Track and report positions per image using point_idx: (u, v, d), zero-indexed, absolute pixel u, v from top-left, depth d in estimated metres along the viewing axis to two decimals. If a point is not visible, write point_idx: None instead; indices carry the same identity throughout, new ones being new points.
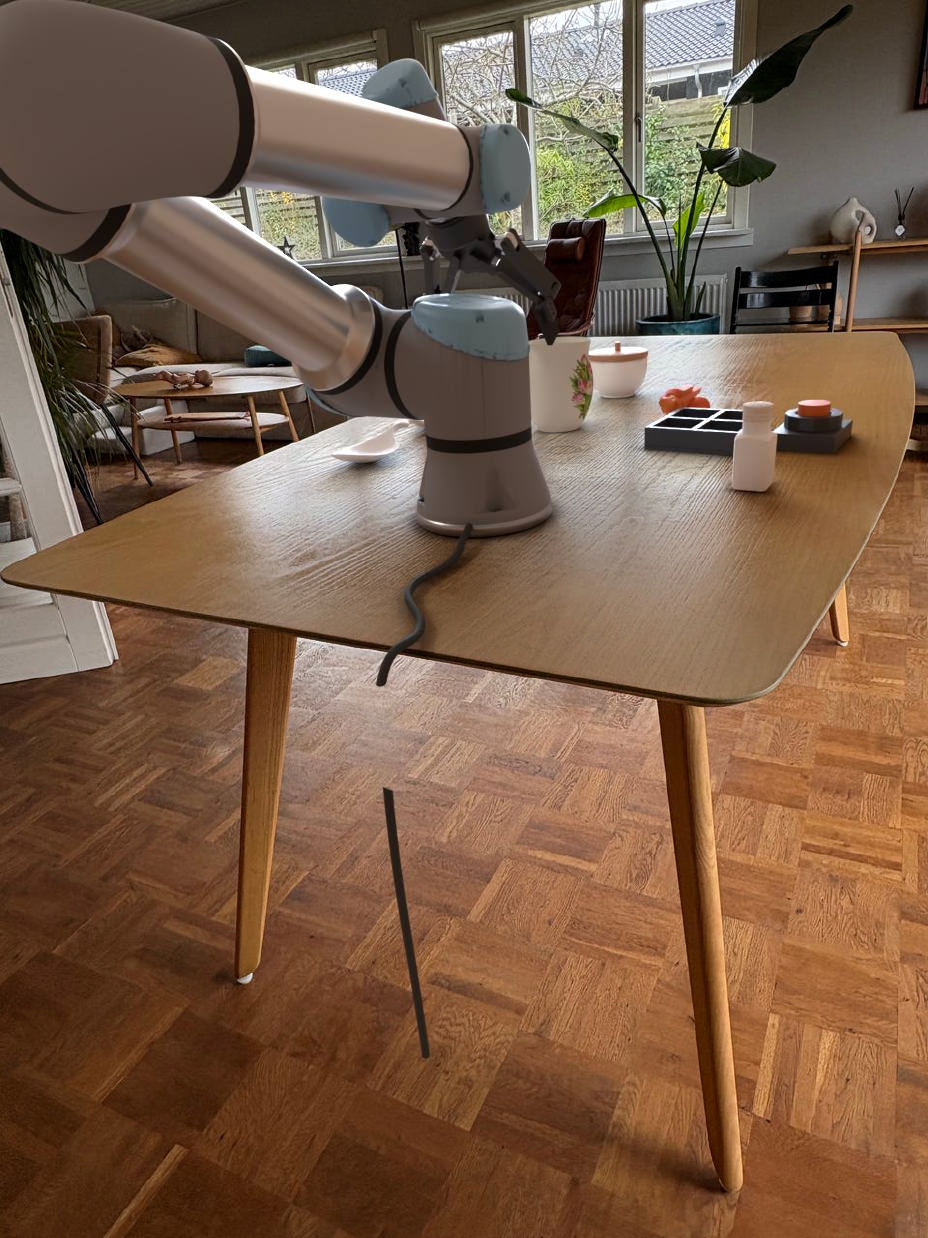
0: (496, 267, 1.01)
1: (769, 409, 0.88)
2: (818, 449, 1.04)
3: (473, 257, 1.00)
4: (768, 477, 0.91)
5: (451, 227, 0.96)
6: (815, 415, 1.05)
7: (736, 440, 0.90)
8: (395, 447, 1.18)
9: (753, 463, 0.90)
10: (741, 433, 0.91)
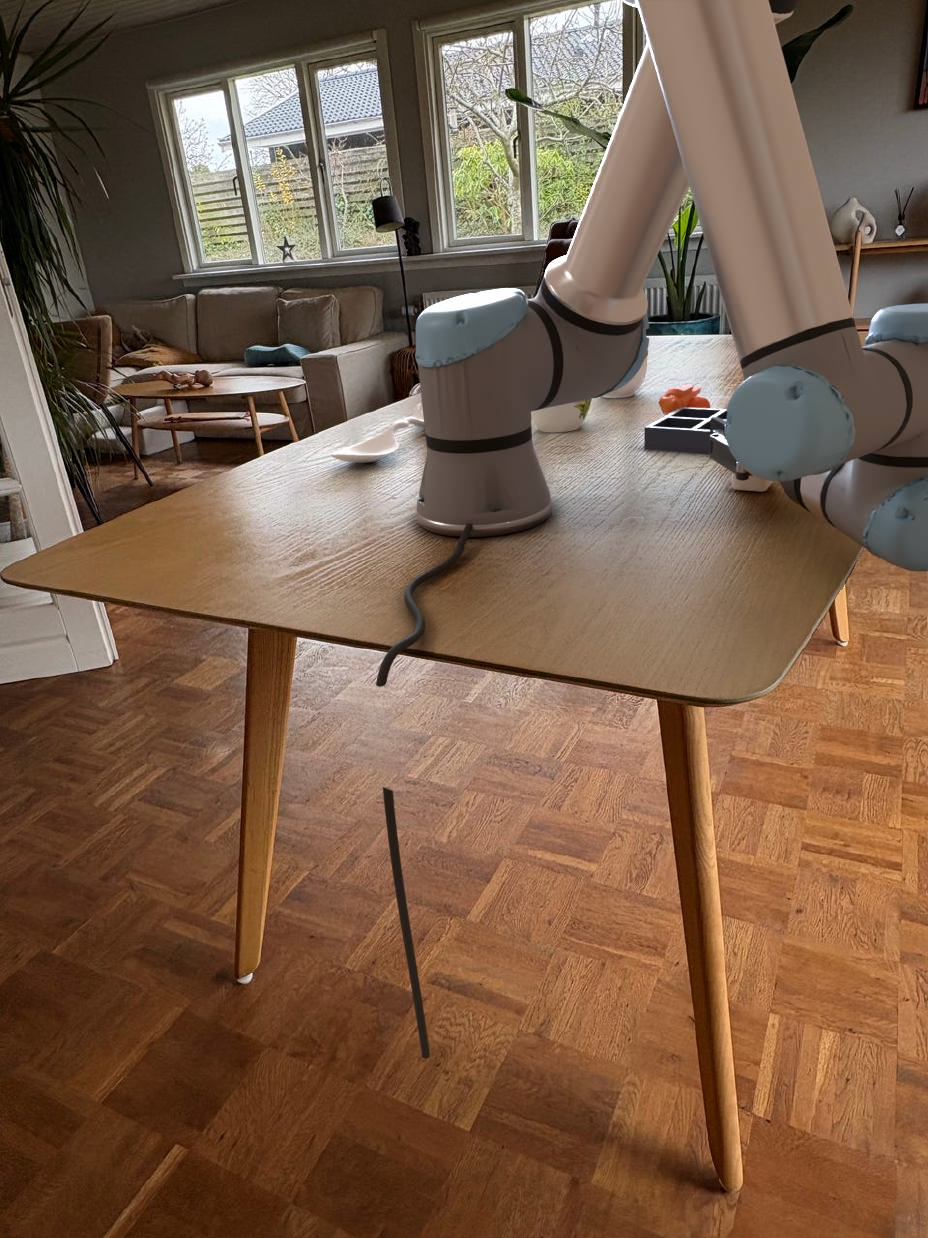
0: None
1: None
2: None
3: None
4: None
5: None
6: None
7: None
8: (395, 447, 1.18)
9: None
10: None
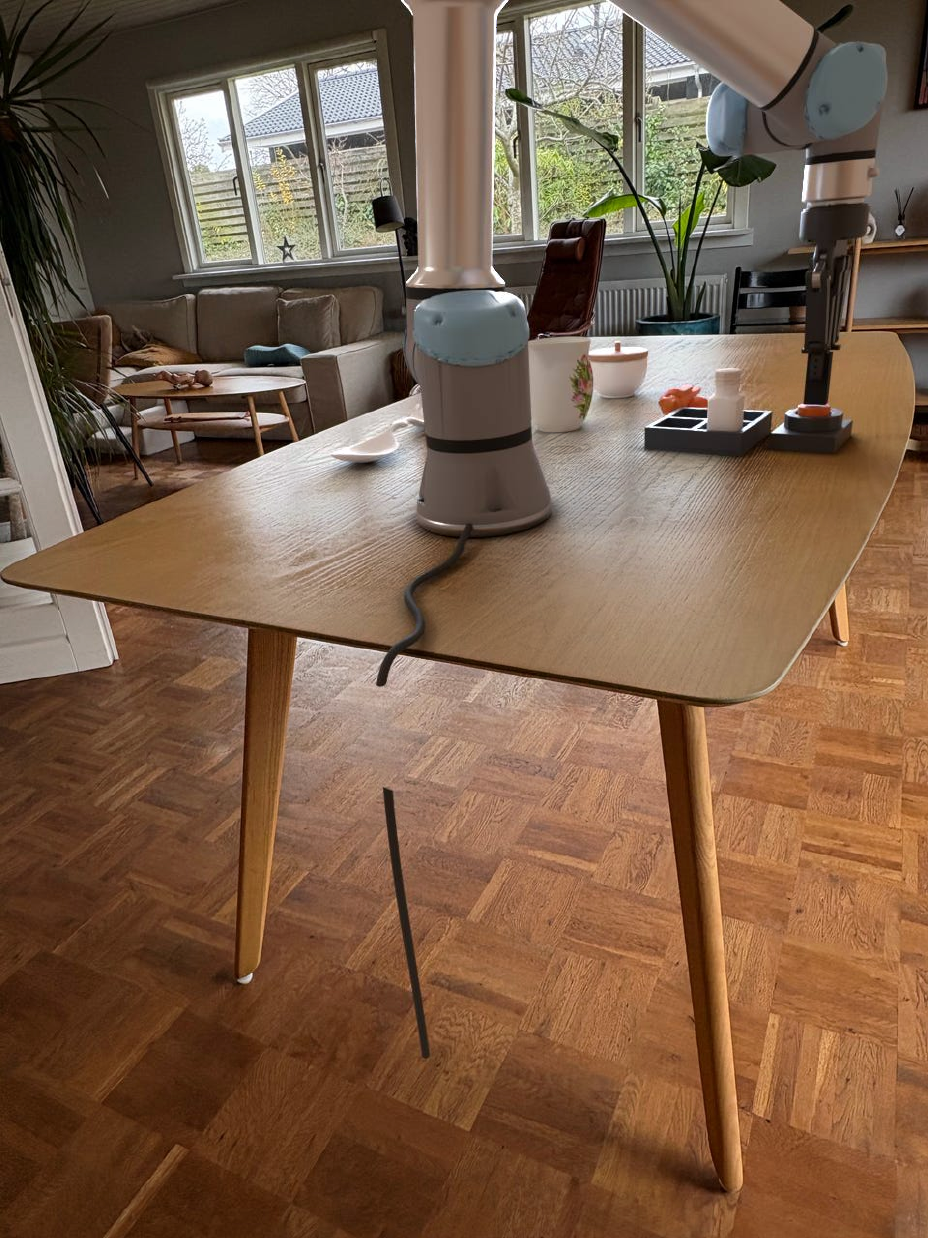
0: None
1: (737, 374, 1.04)
2: (818, 449, 1.04)
3: None
4: None
5: (802, 213, 0.97)
6: None
7: (709, 401, 1.06)
8: (395, 447, 1.18)
9: (724, 420, 1.06)
10: (714, 395, 1.06)
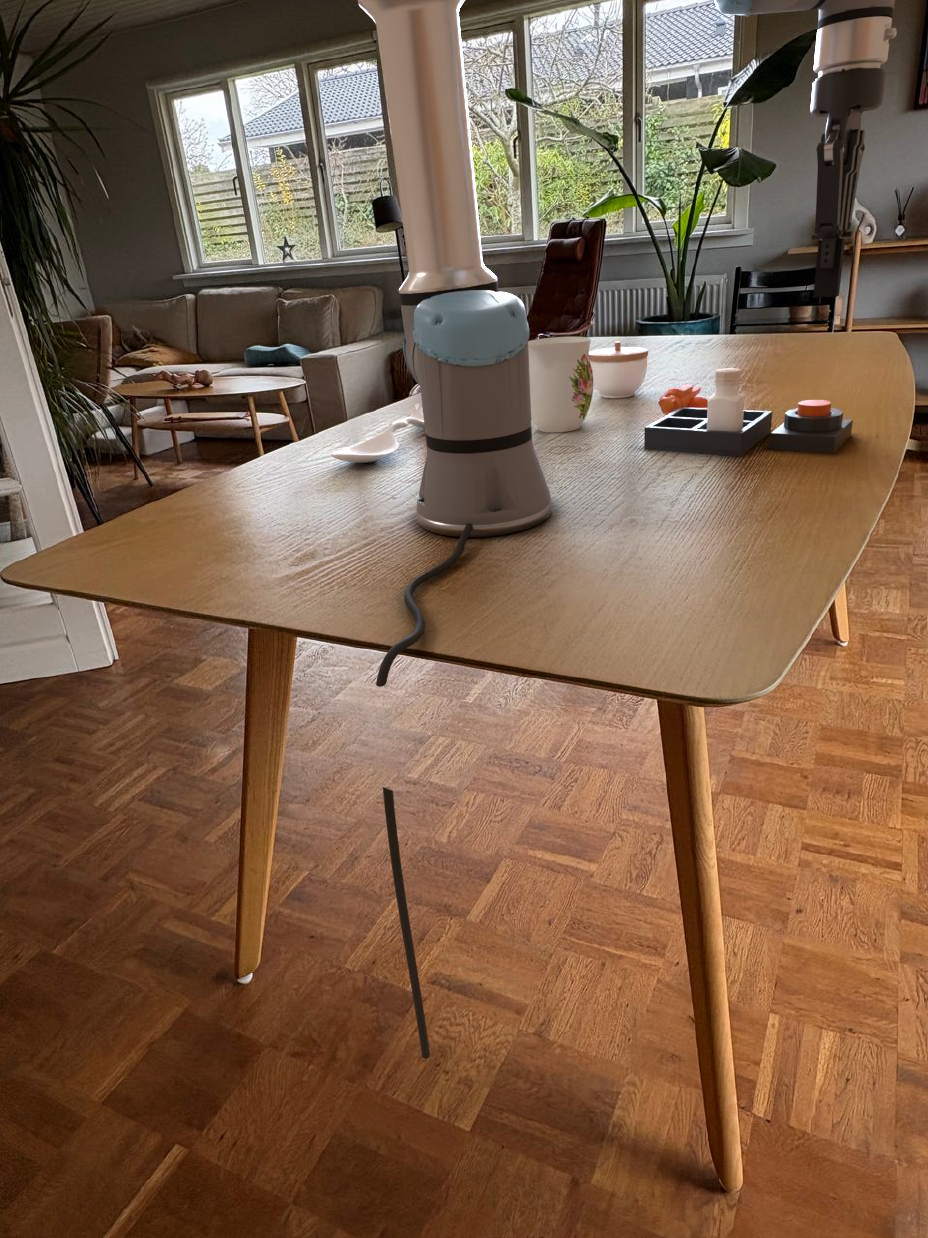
0: None
1: (737, 374, 1.04)
2: (818, 449, 1.04)
3: None
4: None
5: (813, 83, 0.91)
6: (815, 415, 1.05)
7: (709, 401, 1.06)
8: (395, 447, 1.18)
9: (724, 420, 1.06)
10: (714, 395, 1.06)
